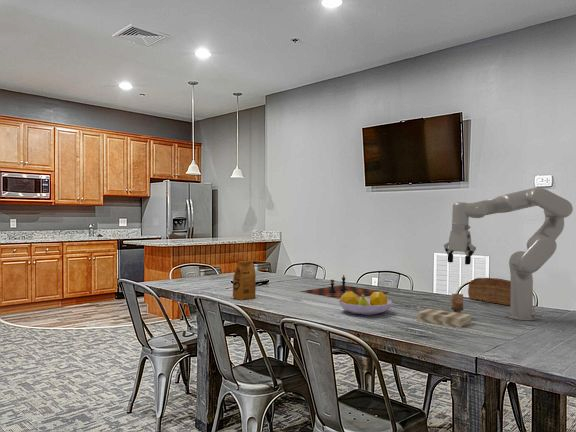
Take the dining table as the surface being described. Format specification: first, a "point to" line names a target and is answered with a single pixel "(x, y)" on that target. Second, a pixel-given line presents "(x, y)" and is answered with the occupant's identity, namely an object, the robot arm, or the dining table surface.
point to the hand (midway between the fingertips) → (458, 263)
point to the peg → (457, 302)
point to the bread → (490, 290)
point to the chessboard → (341, 290)
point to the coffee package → (244, 281)
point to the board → (444, 317)
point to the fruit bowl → (365, 303)
